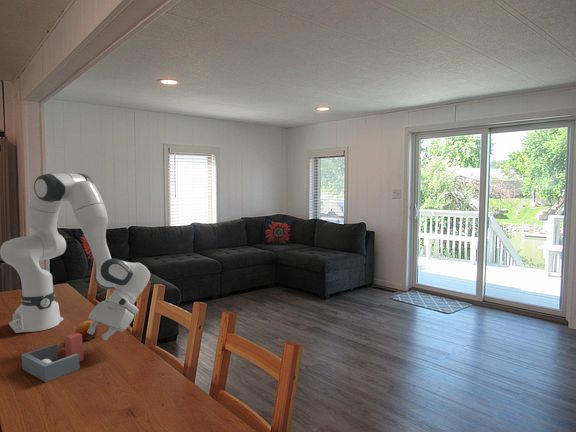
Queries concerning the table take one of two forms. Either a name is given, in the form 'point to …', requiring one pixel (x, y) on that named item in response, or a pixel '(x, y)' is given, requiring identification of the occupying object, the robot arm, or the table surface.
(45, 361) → the ball
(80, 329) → the fruit
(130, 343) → the table surface
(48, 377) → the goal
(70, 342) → the red tall block
